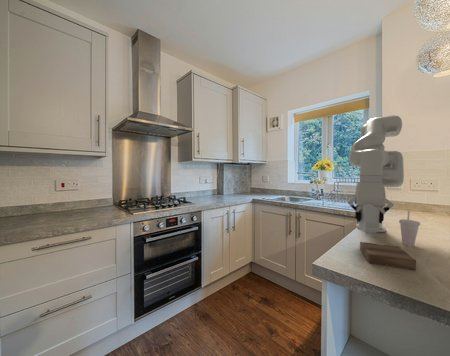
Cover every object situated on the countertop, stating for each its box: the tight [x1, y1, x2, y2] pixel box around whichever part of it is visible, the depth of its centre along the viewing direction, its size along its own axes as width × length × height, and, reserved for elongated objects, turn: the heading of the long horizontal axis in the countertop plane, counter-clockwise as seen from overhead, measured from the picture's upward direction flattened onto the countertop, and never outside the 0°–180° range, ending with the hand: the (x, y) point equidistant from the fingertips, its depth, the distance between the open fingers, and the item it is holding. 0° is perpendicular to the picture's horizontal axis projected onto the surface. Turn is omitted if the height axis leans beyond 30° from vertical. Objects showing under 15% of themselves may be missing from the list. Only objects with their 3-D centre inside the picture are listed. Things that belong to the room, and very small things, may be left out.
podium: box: [359, 241, 417, 271], centre depth 70 cm, size 12×12×3 cm
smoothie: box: [398, 210, 421, 247], centre depth 83 cm, size 6×6×14 cm
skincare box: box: [358, 204, 380, 233], centre depth 86 cm, size 6×4×12 cm
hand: (368, 221), depth 86 cm, fingers closed on skincare box, 7 cm apart
